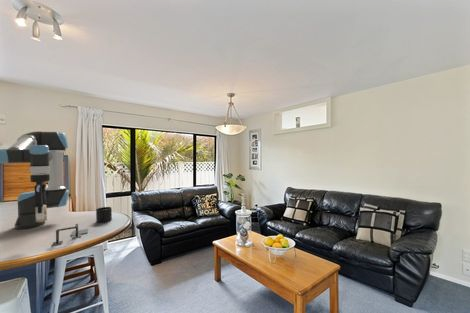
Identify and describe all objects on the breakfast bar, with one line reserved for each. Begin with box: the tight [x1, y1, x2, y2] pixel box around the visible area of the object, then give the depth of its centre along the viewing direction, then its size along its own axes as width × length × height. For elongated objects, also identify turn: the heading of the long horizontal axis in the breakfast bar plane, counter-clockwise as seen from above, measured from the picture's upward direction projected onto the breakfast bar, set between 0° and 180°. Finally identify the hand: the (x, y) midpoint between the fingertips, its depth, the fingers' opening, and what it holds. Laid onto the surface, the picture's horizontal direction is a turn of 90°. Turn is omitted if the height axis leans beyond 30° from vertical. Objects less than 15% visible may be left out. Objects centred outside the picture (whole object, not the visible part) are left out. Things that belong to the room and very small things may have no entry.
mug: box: [95, 206, 113, 224], centre depth 151 cm, size 9×12×9 cm
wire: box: [51, 223, 82, 247], centre depth 117 cm, size 10×12×8 cm
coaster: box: [70, 228, 89, 237], centre depth 129 cm, size 8×8×1 cm
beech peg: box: [35, 205, 48, 222], centre depth 112 cm, size 4×4×8 cm
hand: (41, 217), depth 112 cm, fingers closed on beech peg, 4 cm apart
